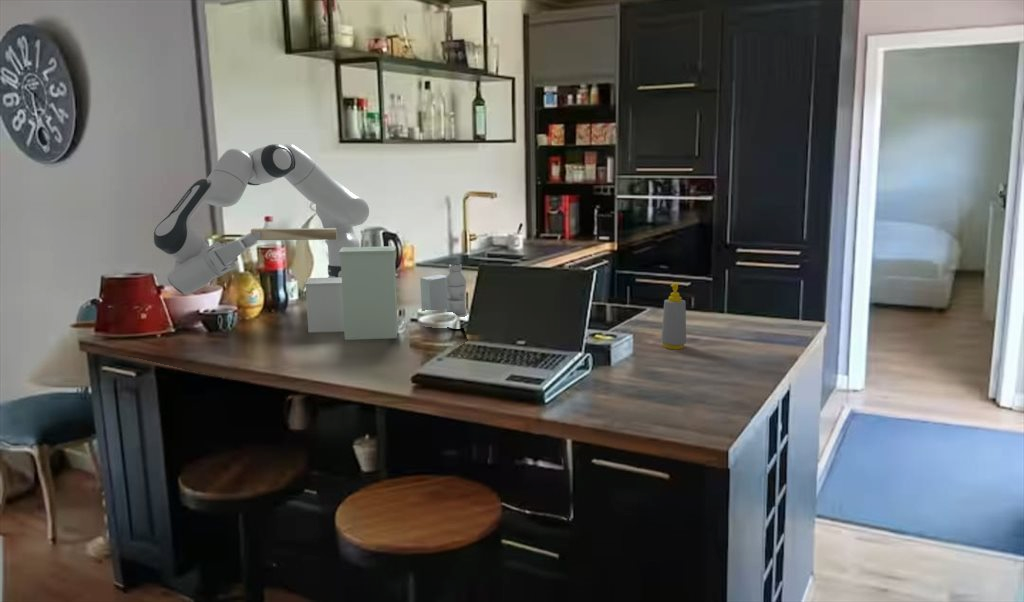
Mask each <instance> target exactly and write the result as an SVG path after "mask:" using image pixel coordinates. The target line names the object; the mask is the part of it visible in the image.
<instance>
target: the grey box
mask: <svg viewBox="0 0 1024 602" xmlns="http://www.w3.org/2000/svg"><path fill="white" fill-rule="evenodd" d="M304 287H305V296H306V297H305V299H306V312H307V331H308V332H307V333H311V334H312V333H335V332H336V333H339V332H344V315H343V295H342V277H336V278H328V277H310V278H308V279H307V280H306V282H305V283H304Z"/></svg>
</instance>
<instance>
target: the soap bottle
mask: <svg viewBox="0 0 1024 602" xmlns="http://www.w3.org/2000/svg"><path fill="white" fill-rule="evenodd" d="M679 285H680V282H677V281H675V282H673V283H672V284H670V287H671V288H672V291H673V292H670V295H669V296H668V299H664V300H663V301H664V302H663V314H662V324H661V326H662V327H661V336H660V337H661V339H660V340H661V341H660V342H661V343H662V346H663V348H665V349H670V350H680V349H683V348H684V347H685V344H687V316H686V315H687V312H686V311H687V310H686V309H687V308H686V306H687V305H686V300H684V299H682V297H681V296H680V292H678V289H679Z"/></svg>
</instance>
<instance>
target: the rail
mask: <svg viewBox="0 0 1024 602" xmlns="http://www.w3.org/2000/svg"><path fill="white" fill-rule="evenodd" d="M258 231H259V232H260V233H261V234H262V236H261V237H260V238H259V239H257V241H309V240H310V241H321V240H322V241H327V240H336V239H337V228H323V227H321V228H319V227H317V228H316V227H314V228H310V227H309V228H308V227H307V228H304V227H303V228H297V227H296V228H294V227H293V228H292V227H291V228H251V229H250V233H251V235H253V234H254V233H256V232H258Z"/></svg>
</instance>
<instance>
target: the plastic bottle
mask: <svg viewBox="0 0 1024 602" xmlns="http://www.w3.org/2000/svg"><path fill="white" fill-rule="evenodd" d="M448 265H449V266H448V267H449V268H448V271H449V273H448V274H447V275H446V276H447V278H446V279H445V288H446V294H447V312H453V313H455V314H456V315H457V316H458V317H465V316H467V311H466V310H467V307H466V292H467V291H466V289H467V280H466V277H465V276H464V275H463V273H462V270H463V269H462V264H461V263H452V264H451V263H450V264H448ZM467 317H468V316H467Z"/></svg>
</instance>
